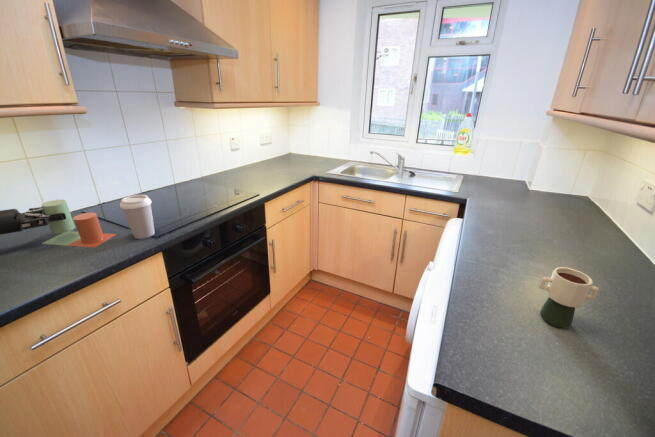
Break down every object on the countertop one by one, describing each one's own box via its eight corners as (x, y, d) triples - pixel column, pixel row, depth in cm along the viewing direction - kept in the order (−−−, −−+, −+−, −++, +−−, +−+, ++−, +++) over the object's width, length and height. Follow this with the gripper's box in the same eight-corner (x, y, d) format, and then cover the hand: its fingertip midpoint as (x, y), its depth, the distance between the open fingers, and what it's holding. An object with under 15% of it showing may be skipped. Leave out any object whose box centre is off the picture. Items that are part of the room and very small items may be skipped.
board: (95, 249, 100) (94, 247, 99) (41, 246, 101) (40, 243, 101) (117, 236, 109) (116, 234, 108) (67, 233, 110) (66, 230, 110)
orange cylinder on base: (94, 244, 101) (85, 220, 97) (76, 243, 102) (67, 219, 98) (108, 235, 107) (101, 213, 103) (92, 234, 107) (84, 212, 104)
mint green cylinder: (71, 232, 102) (61, 205, 98) (48, 234, 100) (37, 207, 96) (78, 224, 108) (69, 198, 104) (56, 226, 106) (46, 200, 102)
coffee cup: (165, 233, 111) (156, 195, 105) (143, 245, 103) (132, 204, 97) (146, 229, 114) (137, 192, 108) (123, 240, 106) (111, 200, 100)
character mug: (576, 316, 73) (596, 272, 68) (587, 337, 67) (610, 290, 62) (525, 305, 77) (540, 262, 72) (531, 323, 71) (548, 278, 66)
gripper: (-13, 220, 87) (60, 209, 96) (0, 204, 98) (65, 196, 107) (-3, 242, 90) (68, 229, 99) (9, 225, 101) (72, 215, 110)
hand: (66, 212), depth 103 cm, fingers closed on mint green cylinder, 6 cm apart
